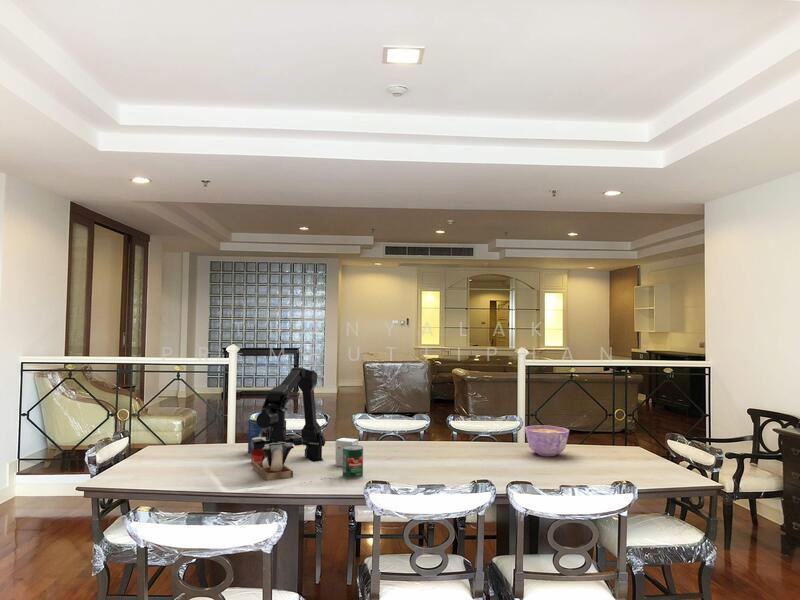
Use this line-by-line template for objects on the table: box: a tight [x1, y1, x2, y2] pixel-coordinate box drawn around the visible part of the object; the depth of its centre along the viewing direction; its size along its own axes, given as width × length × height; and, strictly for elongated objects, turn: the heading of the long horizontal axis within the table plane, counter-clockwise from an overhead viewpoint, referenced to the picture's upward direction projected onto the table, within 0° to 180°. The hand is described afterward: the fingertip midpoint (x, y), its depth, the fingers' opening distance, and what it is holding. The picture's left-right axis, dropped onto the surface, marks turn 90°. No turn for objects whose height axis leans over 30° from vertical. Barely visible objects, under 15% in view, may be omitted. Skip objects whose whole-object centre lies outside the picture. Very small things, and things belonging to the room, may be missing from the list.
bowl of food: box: [524, 424, 570, 457], centre depth 256 cm, size 20×20×12 cm
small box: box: [335, 437, 359, 467], centre depth 232 cm, size 8×6×10 cm
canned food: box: [250, 437, 271, 465], centre depth 229 cm, size 8×8×11 cm
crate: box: [252, 462, 294, 482], centre depth 213 cm, size 10×20×4 cm, turn 29°
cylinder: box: [270, 448, 283, 471], centre depth 209 cm, size 5×5×8 cm
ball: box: [262, 458, 270, 468], centre depth 217 cm, size 5×5×5 cm
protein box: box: [247, 417, 287, 454], centre depth 251 cm, size 10×15×16 cm
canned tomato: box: [342, 444, 364, 480], centre depth 215 cm, size 8×8×11 cm
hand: (276, 465), depth 209 cm, fingers closed on cylinder, 5 cm apart
